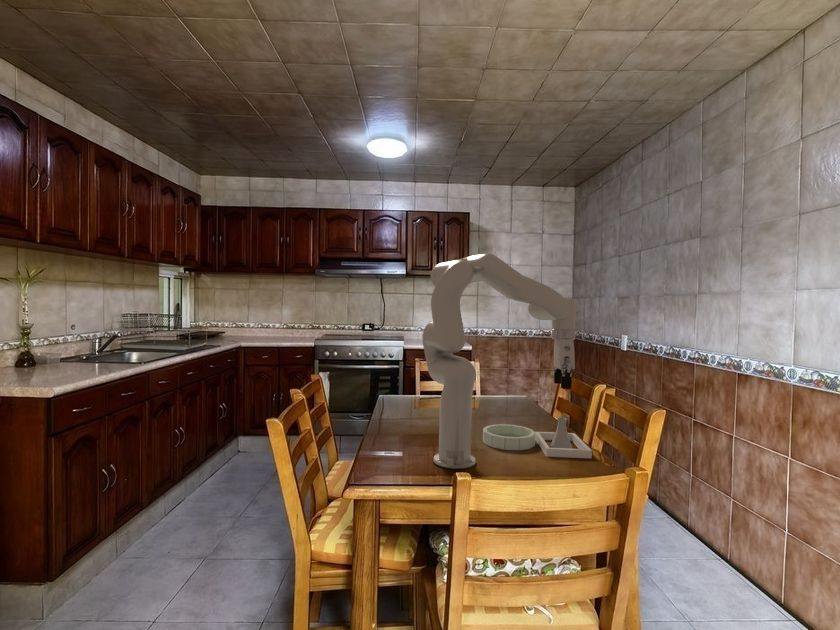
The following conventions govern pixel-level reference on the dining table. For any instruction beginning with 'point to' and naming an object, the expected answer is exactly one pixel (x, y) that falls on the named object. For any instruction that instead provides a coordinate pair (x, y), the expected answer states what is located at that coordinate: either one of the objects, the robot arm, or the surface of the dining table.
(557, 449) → the light grey rectangular frame
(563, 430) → the flask
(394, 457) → the dining table surface
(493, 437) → the bowl
